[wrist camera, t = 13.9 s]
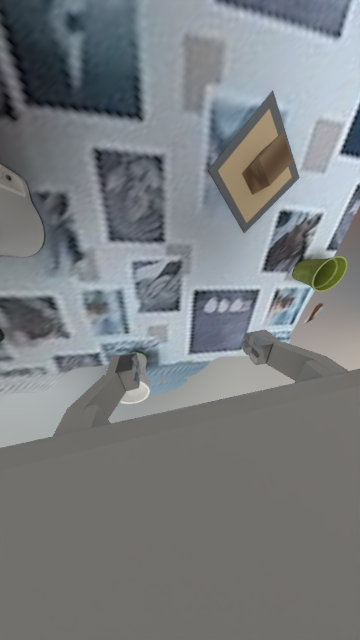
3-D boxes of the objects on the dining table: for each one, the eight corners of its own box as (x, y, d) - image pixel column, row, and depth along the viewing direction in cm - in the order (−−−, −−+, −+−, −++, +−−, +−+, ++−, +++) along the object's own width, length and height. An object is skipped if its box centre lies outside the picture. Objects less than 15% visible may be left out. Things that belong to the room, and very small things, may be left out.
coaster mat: (208, 170, 30) (208, 170, 30) (271, 92, 26) (272, 90, 26) (243, 232, 37) (244, 232, 36) (298, 178, 33) (299, 177, 33)
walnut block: (241, 173, 31) (259, 158, 25) (260, 151, 29) (282, 131, 24) (252, 194, 33) (270, 185, 28) (270, 175, 32) (292, 161, 26)
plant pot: (296, 289, 48) (322, 297, 40) (281, 275, 44) (306, 281, 37) (319, 264, 45) (352, 268, 37) (305, 247, 41) (338, 248, 34)
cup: (126, 343, 48) (115, 376, 36) (155, 350, 52) (155, 383, 39) (117, 365, 52) (105, 401, 40) (145, 370, 56) (142, 406, 44)
